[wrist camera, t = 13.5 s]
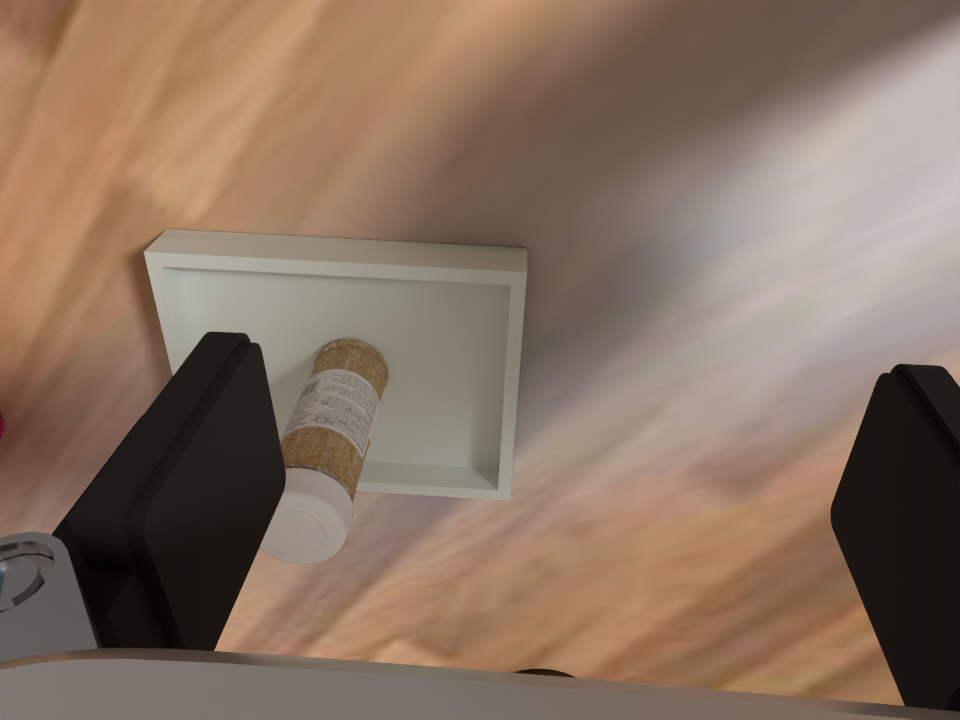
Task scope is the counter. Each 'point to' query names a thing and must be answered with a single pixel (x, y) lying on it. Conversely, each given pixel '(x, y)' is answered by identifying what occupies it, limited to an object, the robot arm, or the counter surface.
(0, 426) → the pepper mill
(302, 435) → the sprinkles bottle
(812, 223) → the counter surface
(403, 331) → the tray
